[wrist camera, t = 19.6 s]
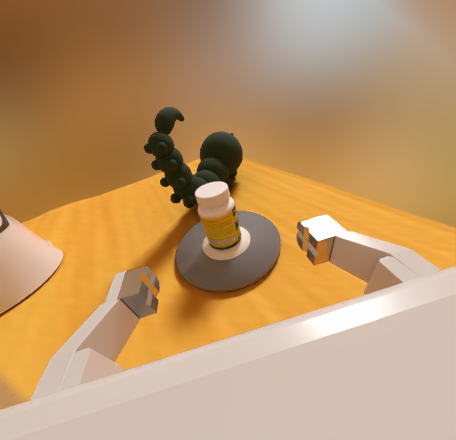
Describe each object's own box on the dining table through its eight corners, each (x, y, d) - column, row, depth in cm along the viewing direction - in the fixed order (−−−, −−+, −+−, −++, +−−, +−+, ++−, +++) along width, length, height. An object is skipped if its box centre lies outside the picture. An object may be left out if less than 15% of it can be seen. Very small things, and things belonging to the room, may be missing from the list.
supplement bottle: (246, 246, 24) (236, 191, 19) (213, 258, 24) (193, 204, 19) (236, 226, 28) (224, 176, 23) (207, 236, 28) (189, 187, 23)
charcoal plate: (176, 309, 20) (173, 305, 20) (178, 229, 32) (176, 225, 32) (302, 269, 21) (303, 264, 20) (258, 206, 33) (258, 201, 32)
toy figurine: (214, 232, 32) (255, 164, 48) (166, 115, 20) (242, 74, 36) (174, 226, 36) (223, 165, 52) (113, 126, 24) (202, 85, 40)
